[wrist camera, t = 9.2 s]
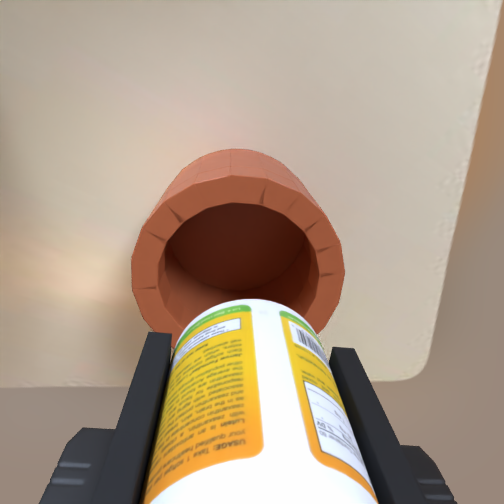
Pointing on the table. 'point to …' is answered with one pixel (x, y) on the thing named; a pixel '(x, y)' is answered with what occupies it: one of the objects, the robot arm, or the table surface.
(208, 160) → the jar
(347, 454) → the supplement bottle
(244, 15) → the table surface
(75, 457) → the robot arm
